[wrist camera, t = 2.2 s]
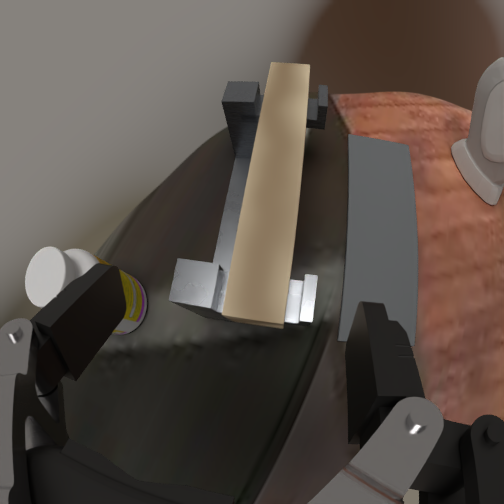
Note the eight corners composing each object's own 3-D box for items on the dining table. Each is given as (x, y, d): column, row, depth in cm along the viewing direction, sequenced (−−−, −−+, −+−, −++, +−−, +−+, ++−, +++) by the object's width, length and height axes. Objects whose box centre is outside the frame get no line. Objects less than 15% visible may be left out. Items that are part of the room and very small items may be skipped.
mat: (406, 147, 33) (408, 145, 33) (411, 346, 26) (414, 345, 26) (347, 137, 34) (348, 134, 34) (337, 340, 27) (338, 340, 27)
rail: (308, 95, 27) (309, 64, 23) (283, 328, 20) (283, 323, 16) (273, 92, 27) (271, 62, 23) (232, 321, 21) (221, 314, 17)
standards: (319, 148, 34) (327, 85, 24) (301, 331, 28) (312, 322, 18) (241, 142, 35) (227, 80, 26) (204, 317, 29) (167, 300, 20)
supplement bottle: (131, 263, 32) (60, 216, 20) (160, 312, 30) (88, 285, 18) (89, 298, 31) (10, 267, 19) (114, 347, 29) (32, 337, 17)
